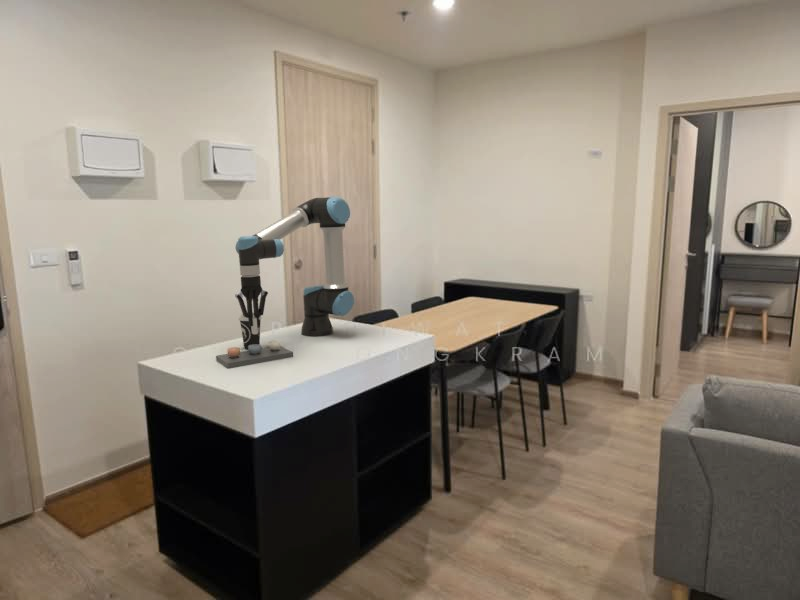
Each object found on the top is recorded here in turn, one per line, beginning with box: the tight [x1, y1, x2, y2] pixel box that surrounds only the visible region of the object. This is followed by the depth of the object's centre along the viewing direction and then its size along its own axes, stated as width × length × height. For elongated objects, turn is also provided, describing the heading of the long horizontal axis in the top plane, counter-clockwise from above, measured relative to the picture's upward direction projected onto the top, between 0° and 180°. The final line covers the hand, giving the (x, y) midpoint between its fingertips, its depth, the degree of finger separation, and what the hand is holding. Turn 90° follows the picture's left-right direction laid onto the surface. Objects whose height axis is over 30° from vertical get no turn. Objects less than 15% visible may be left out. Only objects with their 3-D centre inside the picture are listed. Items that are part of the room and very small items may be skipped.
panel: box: [215, 345, 294, 369], centre depth 220 cm, size 27×14×2 cm, turn 126°
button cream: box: [267, 340, 281, 352], centre depth 224 cm, size 5×5×4 cm
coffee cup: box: [238, 311, 262, 350], centre depth 236 cm, size 10×10×15 cm
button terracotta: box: [226, 346, 241, 359], centre depth 215 cm, size 5×5×4 cm
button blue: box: [247, 344, 262, 355], centre depth 220 cm, size 5×5×4 cm
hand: (254, 333), depth 219 cm, fingers closed
